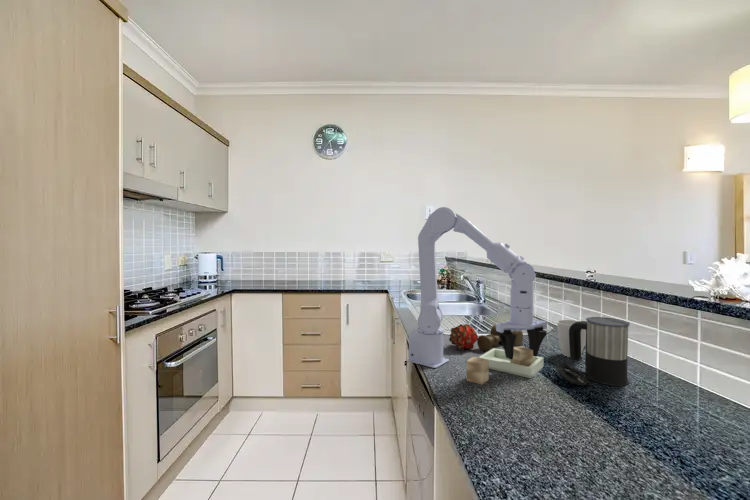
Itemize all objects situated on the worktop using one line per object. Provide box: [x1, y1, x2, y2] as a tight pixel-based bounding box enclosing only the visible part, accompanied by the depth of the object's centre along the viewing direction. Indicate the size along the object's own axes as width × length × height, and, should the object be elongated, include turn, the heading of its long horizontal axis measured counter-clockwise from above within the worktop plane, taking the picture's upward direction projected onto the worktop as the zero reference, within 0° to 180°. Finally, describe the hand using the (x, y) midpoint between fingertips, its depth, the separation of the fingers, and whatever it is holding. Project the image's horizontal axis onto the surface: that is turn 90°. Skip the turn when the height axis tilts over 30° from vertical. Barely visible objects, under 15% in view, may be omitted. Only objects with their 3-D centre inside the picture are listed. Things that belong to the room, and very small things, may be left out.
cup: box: [556, 319, 586, 358], centre depth 107 cm, size 8×8×10 cm
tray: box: [477, 347, 545, 379], centre depth 98 cm, size 14×11×2 cm
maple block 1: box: [466, 356, 490, 386], centre depth 88 cm, size 4×4×5 cm
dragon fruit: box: [448, 323, 479, 351], centre depth 115 cm, size 8×8×12 cm
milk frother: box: [555, 316, 631, 387], centre depth 88 cm, size 14×16×15 cm
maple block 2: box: [510, 345, 533, 367], centre depth 95 cm, size 4×4×5 cm
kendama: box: [476, 323, 524, 352], centre depth 118 cm, size 6×10×20 cm
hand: (521, 356), depth 96 cm, fingers open, 7 cm apart
